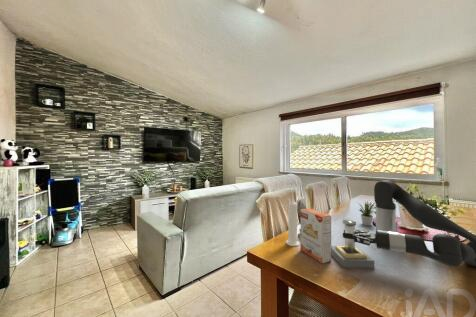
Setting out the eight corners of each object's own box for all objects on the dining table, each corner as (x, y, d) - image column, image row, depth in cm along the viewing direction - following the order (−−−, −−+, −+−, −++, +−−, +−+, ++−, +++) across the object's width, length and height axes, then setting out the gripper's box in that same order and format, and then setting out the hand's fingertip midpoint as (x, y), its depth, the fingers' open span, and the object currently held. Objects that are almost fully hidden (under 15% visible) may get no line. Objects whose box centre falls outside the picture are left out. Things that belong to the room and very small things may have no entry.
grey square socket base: (356, 252, 95) (356, 244, 95) (374, 267, 82) (374, 257, 82) (329, 252, 95) (329, 243, 95) (343, 267, 82) (343, 257, 82)
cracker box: (299, 250, 97) (299, 208, 97) (308, 248, 100) (309, 207, 100) (321, 264, 84) (321, 216, 84) (331, 261, 87) (332, 215, 87)
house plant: (386, 228, 128) (386, 203, 128) (365, 228, 128) (365, 203, 128) (371, 221, 142) (372, 199, 142) (352, 221, 142) (353, 199, 142)
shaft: (352, 253, 91) (352, 219, 91) (359, 259, 86) (358, 223, 86) (341, 253, 91) (340, 219, 92) (347, 259, 86) (346, 223, 86)
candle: (292, 247, 100) (292, 199, 100) (283, 242, 107) (283, 196, 107) (302, 244, 104) (302, 198, 104) (293, 239, 110) (293, 195, 110)
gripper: (392, 256, 75) (342, 247, 84) (389, 244, 86) (345, 236, 96) (391, 236, 75) (341, 229, 84) (388, 227, 87) (344, 221, 96)
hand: (343, 233), depth 90 cm, fingers closed on shaft, 4 cm apart
